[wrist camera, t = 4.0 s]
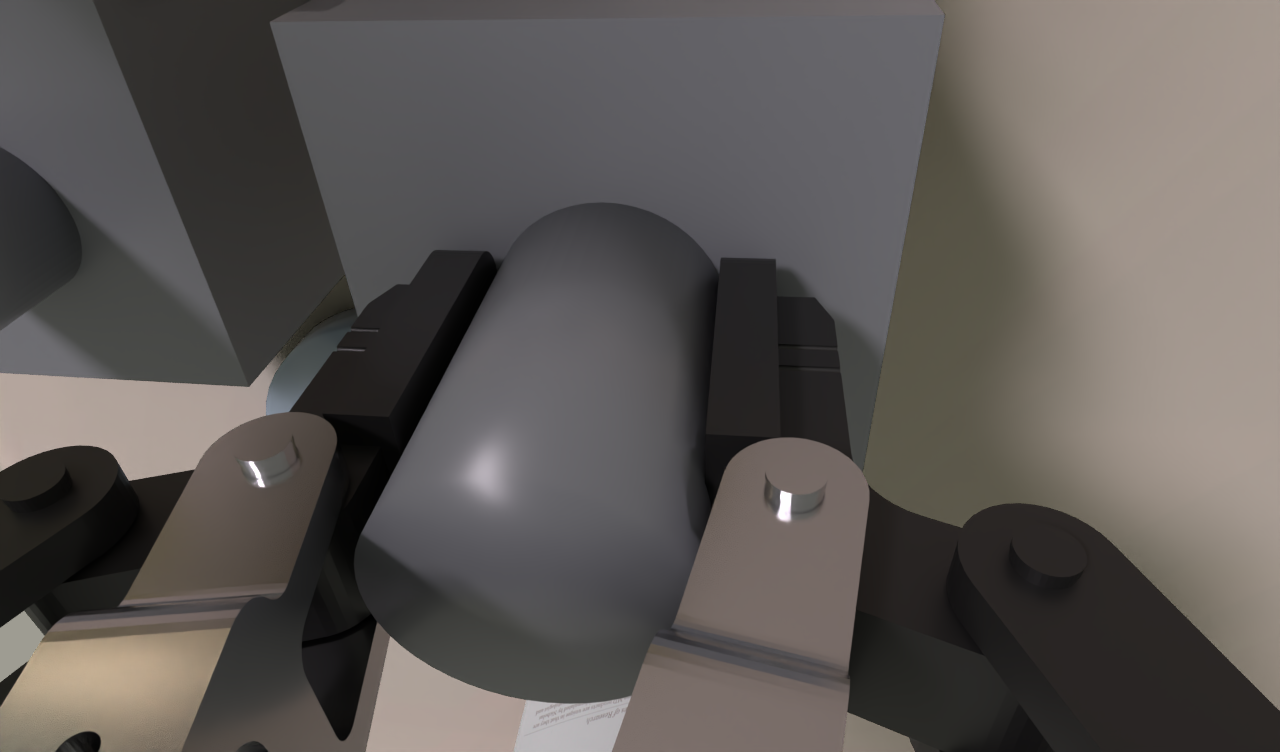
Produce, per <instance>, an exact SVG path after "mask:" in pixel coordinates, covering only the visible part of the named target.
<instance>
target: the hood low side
mask: <svg viewBox="0 0 1280 752" xmlns="http://www.w3.org/2000/svg"><path fill="white" fill-rule="evenodd" d="M944 18H945V14H944V13H943V11H942V10H941V9H940V7H939V6H938V4H937V3H936V2H935V0H311V1H309V2H307V3H305V4H303V5H301V6H299V7H297V8H295V9H293V10H292V11H290V12H288V13H286V14H284V15H282V16H280V17H278V18H276V19H274V20H272V21H270V26H271V29H272V32H273V36H274V39H275V42H276V46H277V49H278V52H279V56H280V59H281V62H282V66H283V69H284V72H285V76H286V79H287V82H288V86H289V89H290V92H291V96H292V99H293V102H294V106H295V109H296V112H297V116H298V119H299V122H300V126H301V129H302V132H303V136H304V139H305V142H306V146H307V149H308V152H309V156H310V159H311V162H312V166H313V169H314V172H315V176H316V179H317V182H318V186H319V189H320V192H321V196H322V199H323V202H324V206H325V209H326V212H327V216H328V219H329V222H330V226H331V229H332V232H333V236H334V239H335V242H336V246H337V249H338V252H339V256H340V259H341V262H342V266H343V269H344V272H345V276H346V279H347V282H348V286H349V289H350V292H351V296H352V299H353V302H354V306H355V309H356V312H357V316H358V317H359V315H360V314H361V312H362V311H363V310H364V308H365V307H366V306H367V304H368V303H370V302H371V301H373V300H374V299H376V298H377V297H379V296H380V295H382V294H383V293H385V292H386V291H388V290H389V289H391V288H392V287H394V286H395V285H396V284H408V285H410V283H411V282H412V280H413V279H414V277H415V276H416V274H417V273H418V271H419V270H420V268H421V267H422V265H423V264H424V262H425V261H426V259H427V258H428V257H429V255H430V254H431V253H432V252H433V251H434V250H464V251H488V252H490V253H491V255H492V256H493V258H494V261H495V264H496V269H497V274H496V276H495V278H494V280H493V282H492V284H491V286H490V287H489V289H488V291H487V293H486V295H485V297H484V299H483V301H482V303H481V305H480V307H479V309H478V310H477V312H476V314H475V316H474V318H473V320H472V322H471V324H470V326H469V328H468V330H467V332H466V333H465V335H464V337H463V339H462V341H461V343H460V345H459V347H458V349H457V351H456V353H455V354H454V356H453V358H452V360H451V362H450V364H449V366H448V368H447V370H446V372H445V374H444V376H443V377H442V379H441V381H440V383H439V385H438V387H437V389H436V391H435V393H434V395H433V397H432V399H431V400H430V402H429V404H428V406H427V408H426V410H425V412H424V414H423V416H422V418H421V420H420V421H419V423H418V425H417V427H416V429H415V431H414V433H413V435H412V437H411V439H410V441H409V443H408V444H407V446H406V448H405V450H404V452H403V454H402V456H401V458H400V460H399V462H398V464H397V466H396V467H395V469H394V471H393V473H392V475H391V477H390V479H389V481H388V483H387V485H386V487H385V489H384V490H383V492H382V494H381V496H380V498H379V500H378V502H377V504H376V506H375V508H374V510H373V511H372V513H371V515H370V517H369V519H368V521H367V523H366V525H365V527H364V529H363V531H362V533H361V534H360V537H359V540H358V543H357V546H356V549H355V556H354V571H355V579H356V582H357V585H358V589H359V592H360V594H361V596H362V598H363V600H364V602H365V604H366V606H367V608H368V609H369V611H370V612H371V614H372V615H373V617H374V618H375V620H376V621H377V622H378V623H379V624H380V625H381V626H382V628H383V629H384V630H385V631H386V632H387V633H388V634H389V635H390V636H391V637H392V638H393V639H394V640H395V641H397V642H398V643H399V644H400V645H401V646H402V647H404V648H405V649H406V650H408V651H409V652H410V653H412V654H413V655H414V656H416V657H417V658H419V659H420V660H422V661H424V662H425V663H427V664H428V665H430V666H432V667H433V668H435V669H437V670H439V671H441V672H443V673H445V674H447V675H449V676H451V677H453V678H456V679H458V680H460V681H462V682H465V683H467V684H470V685H473V686H476V687H478V688H481V689H484V690H487V691H491V692H494V693H498V694H502V695H505V696H510V697H515V698H520V699H524V700H531V701H539V702H546V703H563V704H579V703H595V702H605V701H611V700H616V699H621V698H625V697H629V696H632V693H633V690H634V687H635V684H636V681H637V678H638V676H639V673H640V670H641V667H642V664H643V662H644V659H645V656H646V654H647V651H648V649H649V647H650V644H651V642H652V640H653V639H654V637H655V635H656V634H657V632H658V631H659V630H661V629H665V630H670V629H671V627H672V625H673V623H674V621H675V618H676V615H677V613H678V610H679V607H680V604H681V601H682V598H683V595H684V592H685V589H686V586H687V583H688V580H689V576H690V573H691V570H692V567H693V564H694V561H695V558H696V555H697V552H698V549H699V546H700V543H701V540H702V537H703V534H704V531H705V528H706V525H707V522H708V519H709V516H710V513H711V502H710V498H709V495H708V491H707V487H706V485H705V434H706V422H707V411H708V399H709V387H710V376H711V364H712V352H713V341H714V329H715V318H716V306H717V294H718V283H719V271H720V260H721V257H726V258H765V259H776V282H777V296H784V297H815V298H816V299H817V300H818V302H819V303H820V304H821V305H822V306H823V307H824V309H825V310H826V311H827V312H828V313H829V315H830V316H831V317H832V318H833V319H834V321H835V329H836V337H837V345H838V347H837V351H838V353H839V360H840V373H841V376H842V384H843V392H844V399H845V407H846V415H847V423H848V431H849V438H850V446H851V454H852V458H853V462H854V463H855V464H856V465H857V466H858V467H859V469H860V470H861V471H862V473H863V467H864V462H865V456H866V450H867V445H868V439H869V434H870V428H871V423H872V417H873V412H874V406H875V400H876V395H877V389H878V384H879V378H880V373H881V367H882V362H883V356H884V351H885V345H886V339H887V334H888V328H889V323H890V317H891V312H892V306H893V301H894V295H895V290H896V284H897V278H898V273H899V267H900V262H901V256H902V251H903V245H904V240H905V234H906V229H907V223H908V217H909V212H910V206H911V201H912V195H913V190H914V184H915V179H916V173H917V168H918V162H919V156H920V151H921V145H922V140H923V134H924V129H925V123H926V118H927V112H928V106H929V101H930V95H931V90H932V84H933V79H934V73H935V68H936V62H937V57H938V51H939V45H940V40H941V34H942V29H943V23H944Z"/></svg>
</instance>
